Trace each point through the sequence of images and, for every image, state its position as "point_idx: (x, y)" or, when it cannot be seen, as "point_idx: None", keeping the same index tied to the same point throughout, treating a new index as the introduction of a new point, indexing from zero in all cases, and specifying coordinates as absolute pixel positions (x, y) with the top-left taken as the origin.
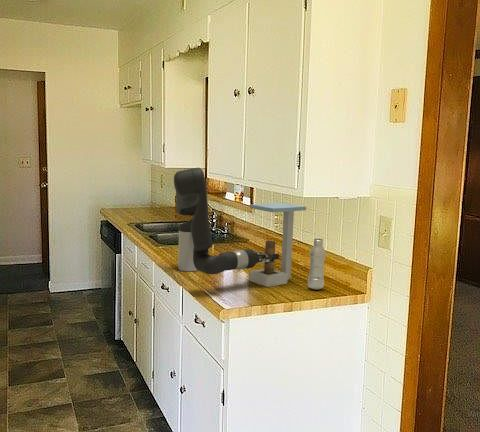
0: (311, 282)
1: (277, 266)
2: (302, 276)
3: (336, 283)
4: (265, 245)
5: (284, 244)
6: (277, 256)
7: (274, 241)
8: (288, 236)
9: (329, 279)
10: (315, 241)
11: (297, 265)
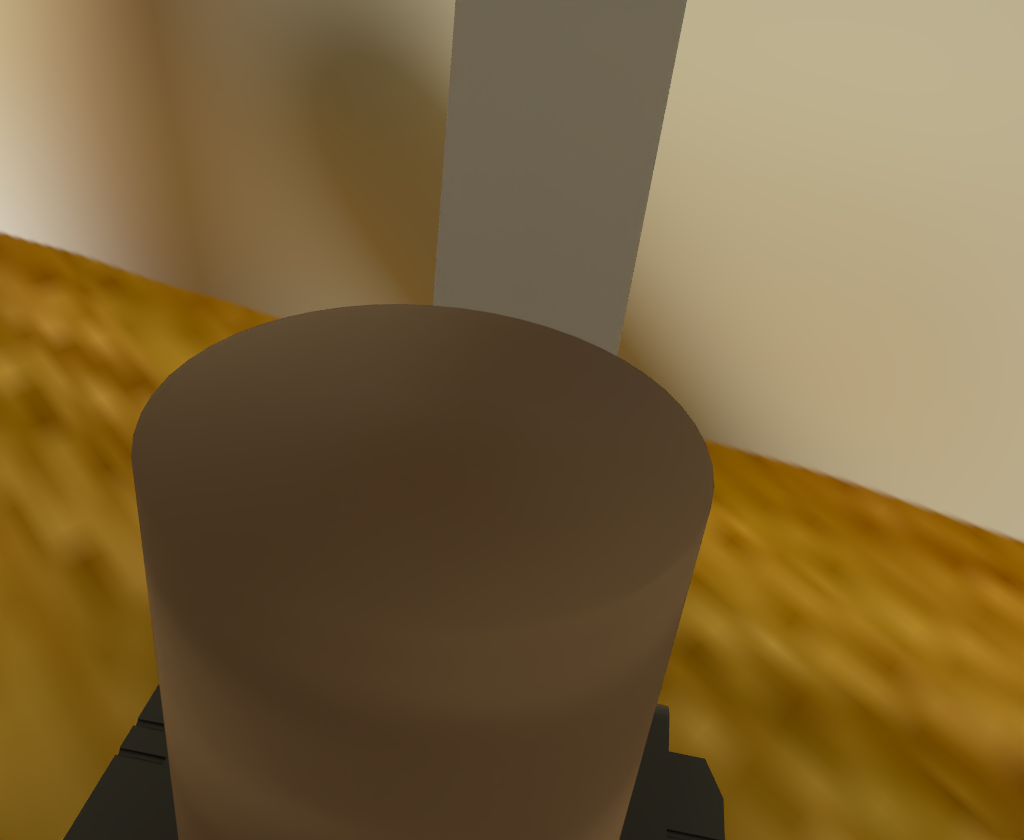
0: None
1: (27, 398)
2: None
3: (975, 548)
4: (209, 753)
5: (533, 255)
6: (696, 835)
7: (549, 345)
8: (683, 10)
9: (800, 480)
10: None
11: (216, 300)
